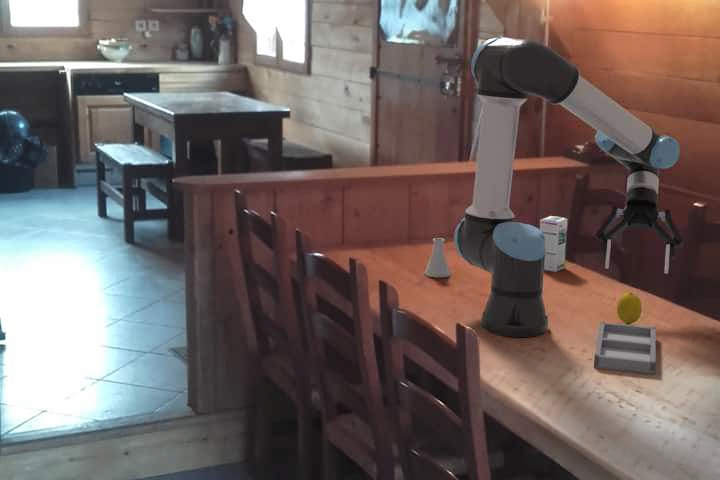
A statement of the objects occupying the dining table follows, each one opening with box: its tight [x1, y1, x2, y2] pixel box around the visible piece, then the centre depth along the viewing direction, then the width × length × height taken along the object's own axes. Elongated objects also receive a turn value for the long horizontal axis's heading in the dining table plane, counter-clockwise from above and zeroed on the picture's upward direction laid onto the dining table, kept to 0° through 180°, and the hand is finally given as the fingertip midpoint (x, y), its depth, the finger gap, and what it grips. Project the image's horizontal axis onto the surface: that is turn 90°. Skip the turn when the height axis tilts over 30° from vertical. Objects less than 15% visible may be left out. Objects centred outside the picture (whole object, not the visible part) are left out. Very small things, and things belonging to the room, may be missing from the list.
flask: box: [424, 237, 451, 278], centre depth 265 cm, size 7×7×10 cm
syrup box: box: [539, 215, 568, 273], centre depth 272 cm, size 6×6×14 cm
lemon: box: [616, 291, 643, 325], centre depth 226 cm, size 6×6×8 cm
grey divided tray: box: [593, 321, 657, 375], centre depth 209 cm, size 23×12×2 cm, turn 164°
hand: (636, 268), depth 231 cm, fingers open, 13 cm apart
